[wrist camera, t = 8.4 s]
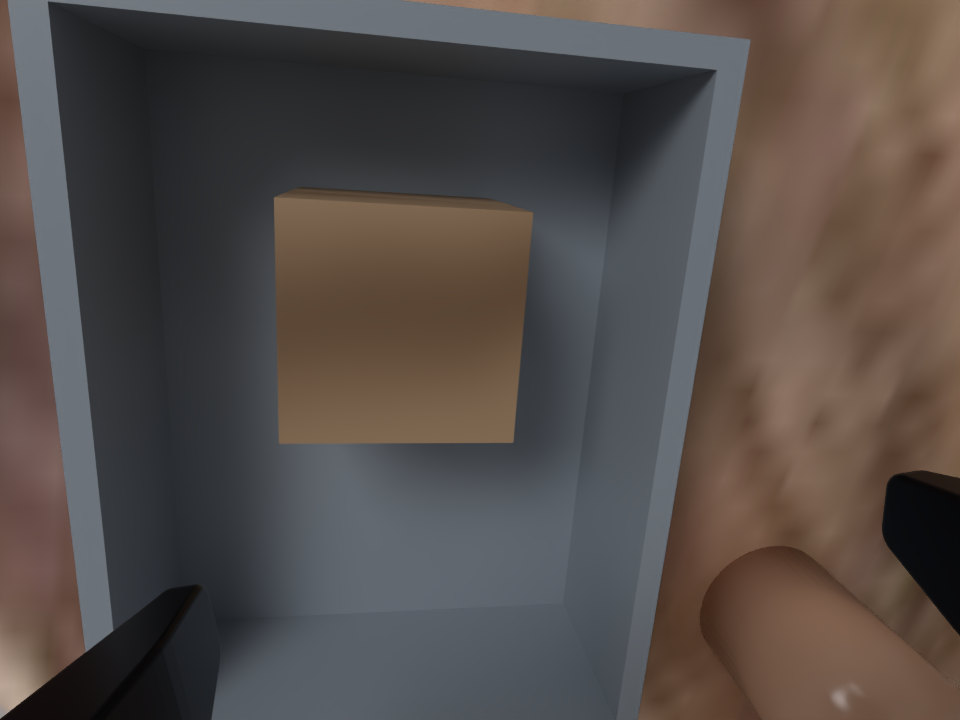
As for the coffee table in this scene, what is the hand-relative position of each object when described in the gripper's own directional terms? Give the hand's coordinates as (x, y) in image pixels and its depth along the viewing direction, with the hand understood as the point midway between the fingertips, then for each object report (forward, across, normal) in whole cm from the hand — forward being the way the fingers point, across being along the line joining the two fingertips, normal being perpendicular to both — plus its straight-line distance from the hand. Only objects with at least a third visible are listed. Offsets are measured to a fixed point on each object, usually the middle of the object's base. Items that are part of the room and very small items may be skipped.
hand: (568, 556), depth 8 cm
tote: (+12, +2, +1) cm, 12 cm away
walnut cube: (+11, +2, -2) cm, 11 cm away
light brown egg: (+12, -10, +12) cm, 20 cm away
